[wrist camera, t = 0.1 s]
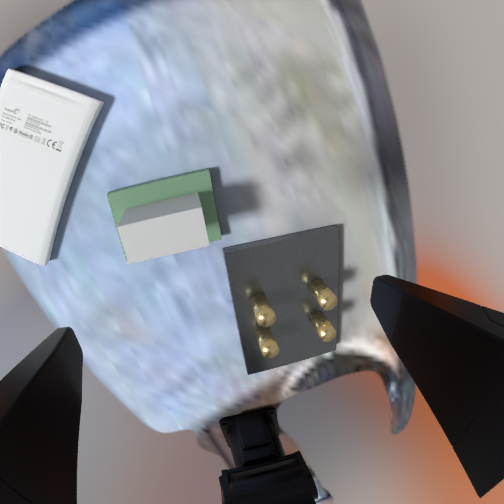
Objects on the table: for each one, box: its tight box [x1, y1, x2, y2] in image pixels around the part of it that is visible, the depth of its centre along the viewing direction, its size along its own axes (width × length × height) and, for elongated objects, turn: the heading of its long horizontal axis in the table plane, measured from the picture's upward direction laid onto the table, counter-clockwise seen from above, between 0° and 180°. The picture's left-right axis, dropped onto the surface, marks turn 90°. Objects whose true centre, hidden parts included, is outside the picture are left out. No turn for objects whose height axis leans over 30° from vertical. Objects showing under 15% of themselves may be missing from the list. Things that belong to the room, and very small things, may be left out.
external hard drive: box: [0, 69, 104, 266], centre depth 17 cm, size 2×8×12 cm
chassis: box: [222, 225, 339, 375], centre depth 26 cm, size 13×9×3 cm
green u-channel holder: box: [107, 168, 222, 264], centre depth 20 cm, size 5×7×4 cm
